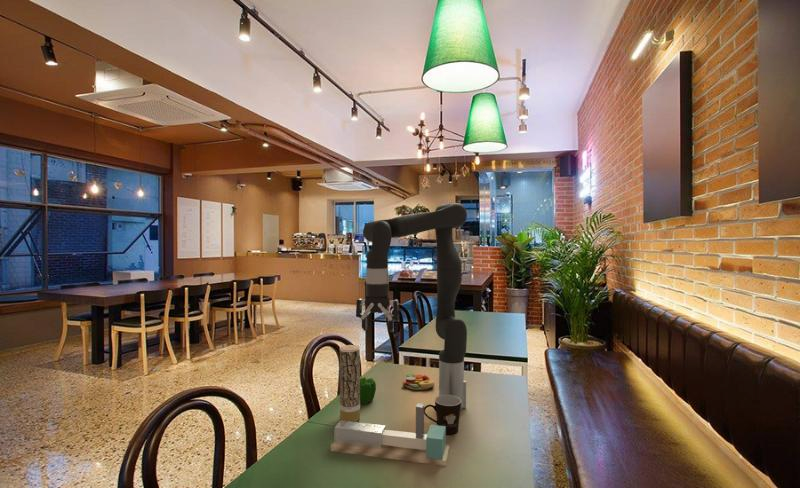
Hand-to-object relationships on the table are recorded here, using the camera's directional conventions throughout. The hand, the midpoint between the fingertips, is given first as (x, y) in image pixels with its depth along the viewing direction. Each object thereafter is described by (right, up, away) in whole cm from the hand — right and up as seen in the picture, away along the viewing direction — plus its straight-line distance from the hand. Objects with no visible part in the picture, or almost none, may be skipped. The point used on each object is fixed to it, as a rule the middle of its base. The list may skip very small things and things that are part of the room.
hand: (377, 330), depth 129 cm
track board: (+4, -32, -14) cm, 35 cm away
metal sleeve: (-5, -31, -12) cm, 33 cm away
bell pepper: (-6, -32, +22) cm, 39 cm away
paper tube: (-10, -32, +6) cm, 34 cm away
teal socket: (+18, -31, -17) cm, 39 cm away
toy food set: (+15, -32, +37) cm, 51 cm away
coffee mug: (+22, -32, -1) cm, 39 cm away
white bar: (+9, -30, -15) cm, 35 cm away
